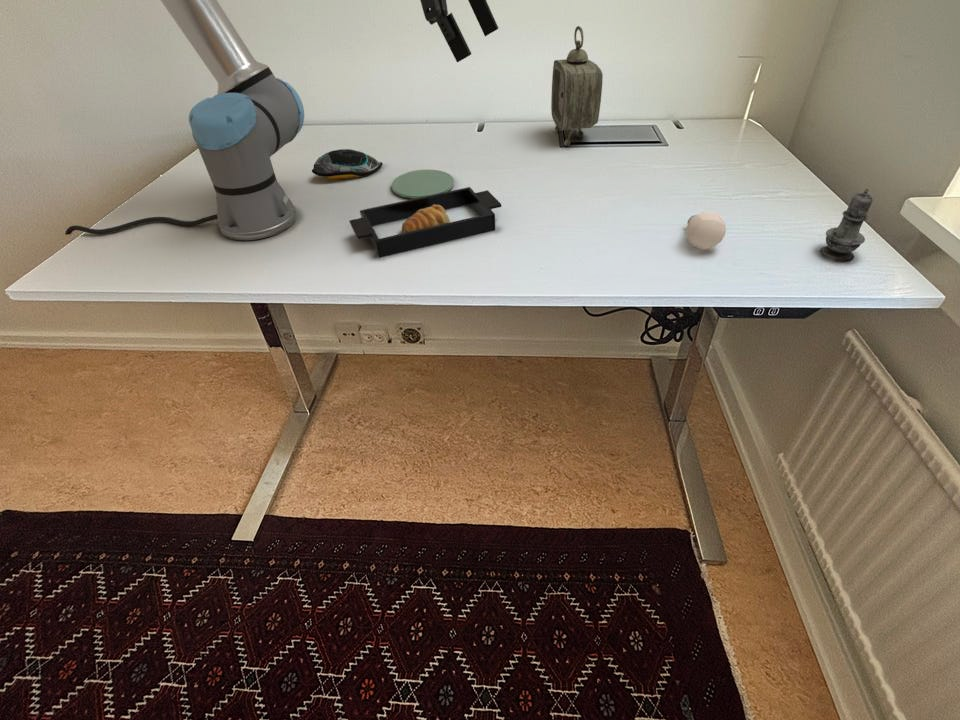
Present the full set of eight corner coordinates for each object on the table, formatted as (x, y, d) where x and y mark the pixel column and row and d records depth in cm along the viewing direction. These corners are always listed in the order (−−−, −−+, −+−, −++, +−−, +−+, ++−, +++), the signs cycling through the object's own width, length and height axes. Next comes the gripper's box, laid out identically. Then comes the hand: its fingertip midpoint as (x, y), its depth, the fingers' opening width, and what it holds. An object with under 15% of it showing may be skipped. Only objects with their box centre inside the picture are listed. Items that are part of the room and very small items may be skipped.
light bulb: (682, 200, 100) (699, 212, 91) (717, 207, 101) (737, 219, 91) (670, 234, 103) (686, 249, 94) (704, 241, 103) (722, 257, 94)
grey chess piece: (838, 266, 91) (870, 199, 83) (810, 250, 95) (838, 185, 87) (863, 258, 92) (897, 192, 84) (834, 242, 96) (864, 178, 88)
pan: (364, 261, 98) (360, 244, 96) (349, 229, 107) (345, 213, 105) (508, 227, 105) (508, 210, 103) (482, 199, 115) (481, 184, 112)
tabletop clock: (549, 129, 144) (554, 21, 127) (582, 127, 145) (592, 19, 128) (561, 149, 133) (569, 34, 117) (597, 146, 134) (609, 31, 117)
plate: (401, 205, 114) (401, 201, 114) (385, 180, 124) (384, 176, 123) (463, 192, 118) (462, 188, 117) (442, 169, 127) (441, 165, 127)
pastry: (414, 243, 102) (411, 225, 100) (395, 231, 106) (392, 213, 104) (453, 227, 106) (452, 209, 104) (434, 215, 110) (432, 198, 108)
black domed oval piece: (388, 172, 127) (384, 147, 124) (318, 188, 122) (312, 163, 118) (377, 160, 133) (373, 136, 129) (310, 174, 128) (304, 150, 124)
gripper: (392, -98, 72) (470, 60, 83) (461, -123, 87) (518, 13, 98) (355, -66, 76) (433, 80, 87) (426, -95, 92) (485, 32, 103)
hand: (478, 45), depth 93 cm, fingers open, 13 cm apart
